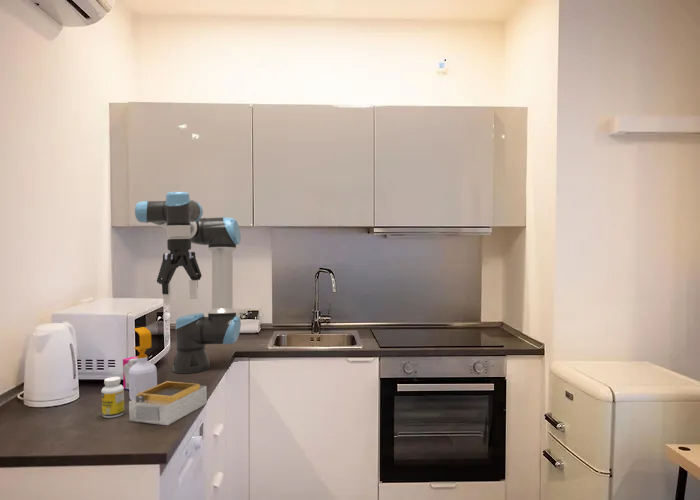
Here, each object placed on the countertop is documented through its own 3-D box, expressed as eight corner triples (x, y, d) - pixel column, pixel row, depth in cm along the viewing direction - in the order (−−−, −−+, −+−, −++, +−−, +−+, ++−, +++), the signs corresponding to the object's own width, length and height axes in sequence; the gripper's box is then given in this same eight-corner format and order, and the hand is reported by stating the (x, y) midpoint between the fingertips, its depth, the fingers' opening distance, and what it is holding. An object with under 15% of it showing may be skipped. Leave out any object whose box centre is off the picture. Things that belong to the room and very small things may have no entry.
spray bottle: (149, 391, 182) (146, 324, 181) (162, 396, 176) (160, 327, 175) (124, 398, 175) (122, 328, 174) (137, 403, 169) (135, 331, 168)
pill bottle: (99, 415, 158) (97, 379, 158) (120, 409, 163) (119, 374, 163) (106, 420, 154) (105, 382, 153) (127, 414, 158) (126, 378, 158)
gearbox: (172, 400, 172) (171, 378, 171) (206, 403, 167) (206, 381, 167) (128, 421, 152) (127, 397, 152) (166, 425, 148) (165, 400, 148)
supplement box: (146, 387, 187) (145, 357, 187) (132, 391, 182) (131, 360, 182) (136, 385, 190) (135, 355, 190) (122, 389, 185) (121, 358, 185)
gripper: (192, 238, 180) (194, 296, 180) (143, 239, 156) (145, 306, 157) (210, 237, 177) (212, 297, 178) (163, 238, 154) (165, 307, 154)
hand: (181, 301), depth 167 cm, fingers open, 13 cm apart
